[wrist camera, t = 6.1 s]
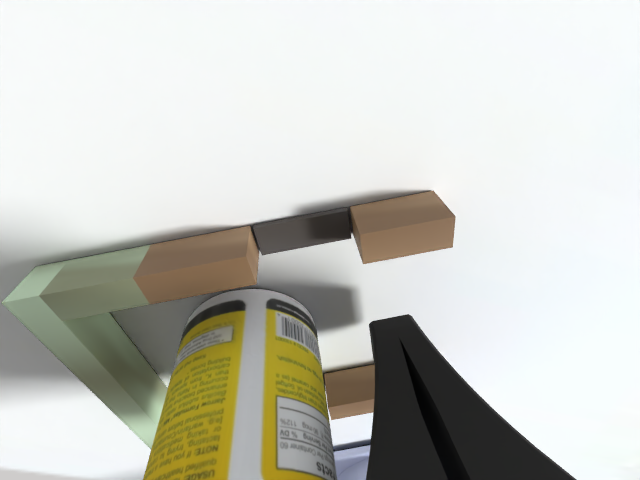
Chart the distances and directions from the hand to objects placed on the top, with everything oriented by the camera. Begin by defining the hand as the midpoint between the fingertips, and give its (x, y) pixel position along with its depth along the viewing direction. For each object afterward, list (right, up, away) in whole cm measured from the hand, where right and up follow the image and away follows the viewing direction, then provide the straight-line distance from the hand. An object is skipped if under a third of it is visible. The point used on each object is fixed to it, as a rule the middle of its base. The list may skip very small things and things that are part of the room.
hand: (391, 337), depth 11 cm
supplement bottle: (-5, 0, +1) cm, 5 cm away
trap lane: (-4, 0, +1) cm, 4 cm away
